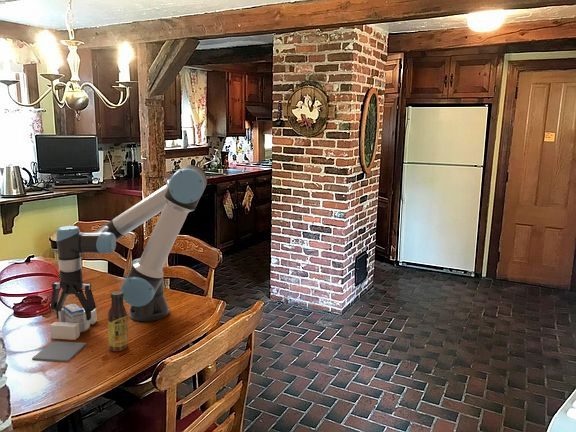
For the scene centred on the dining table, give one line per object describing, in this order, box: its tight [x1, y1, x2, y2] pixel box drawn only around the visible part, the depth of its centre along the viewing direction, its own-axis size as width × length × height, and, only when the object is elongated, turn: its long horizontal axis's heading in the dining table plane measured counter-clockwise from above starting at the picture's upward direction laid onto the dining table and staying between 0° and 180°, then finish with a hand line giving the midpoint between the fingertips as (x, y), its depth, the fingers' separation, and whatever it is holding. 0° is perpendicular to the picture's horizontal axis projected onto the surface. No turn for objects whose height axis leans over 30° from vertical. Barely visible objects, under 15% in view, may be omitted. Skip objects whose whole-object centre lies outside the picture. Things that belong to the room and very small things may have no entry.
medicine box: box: [62, 303, 86, 333], centre depth 174 cm, size 8×4×9 cm, turn 47°
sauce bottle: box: [107, 290, 129, 352], centre depth 159 cm, size 6×6×20 cm
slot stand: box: [49, 307, 98, 341], centre depth 174 cm, size 9×16×5 cm, turn 176°
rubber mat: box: [31, 340, 87, 363], centre depth 158 cm, size 12×12×1 cm
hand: (74, 327), depth 174 cm, fingers closed on medicine box, 9 cm apart
